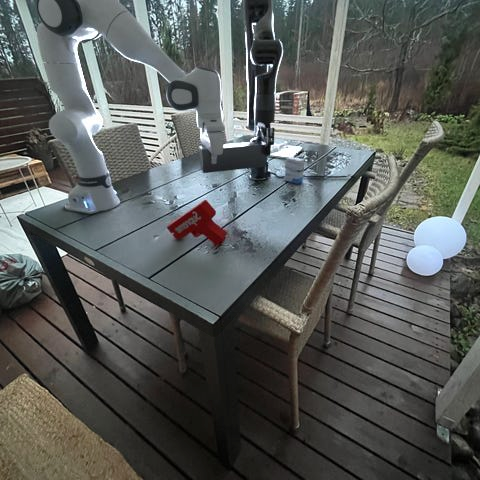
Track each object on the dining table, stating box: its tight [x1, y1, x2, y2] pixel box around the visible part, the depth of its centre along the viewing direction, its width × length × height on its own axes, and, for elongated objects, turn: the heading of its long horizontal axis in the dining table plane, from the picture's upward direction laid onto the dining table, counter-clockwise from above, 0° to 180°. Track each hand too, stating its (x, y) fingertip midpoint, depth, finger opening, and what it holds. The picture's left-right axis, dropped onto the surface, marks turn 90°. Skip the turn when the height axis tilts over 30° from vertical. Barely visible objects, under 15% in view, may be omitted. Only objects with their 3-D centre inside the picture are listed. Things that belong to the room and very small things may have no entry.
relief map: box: [268, 139, 304, 160], centre depth 192 cm, size 27×35×5 cm
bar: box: [198, 141, 266, 174], centre depth 105 cm, size 25×5×9 cm, turn 109°
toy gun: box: [166, 199, 228, 248], centre depth 93 cm, size 18×4×15 cm
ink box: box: [284, 156, 306, 185], centre depth 140 cm, size 8×5×12 cm, turn 47°
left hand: (211, 160), depth 103 cm, fingers closed on bar, 5 cm apart
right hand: (263, 152), depth 108 cm, fingers open, 8 cm apart
